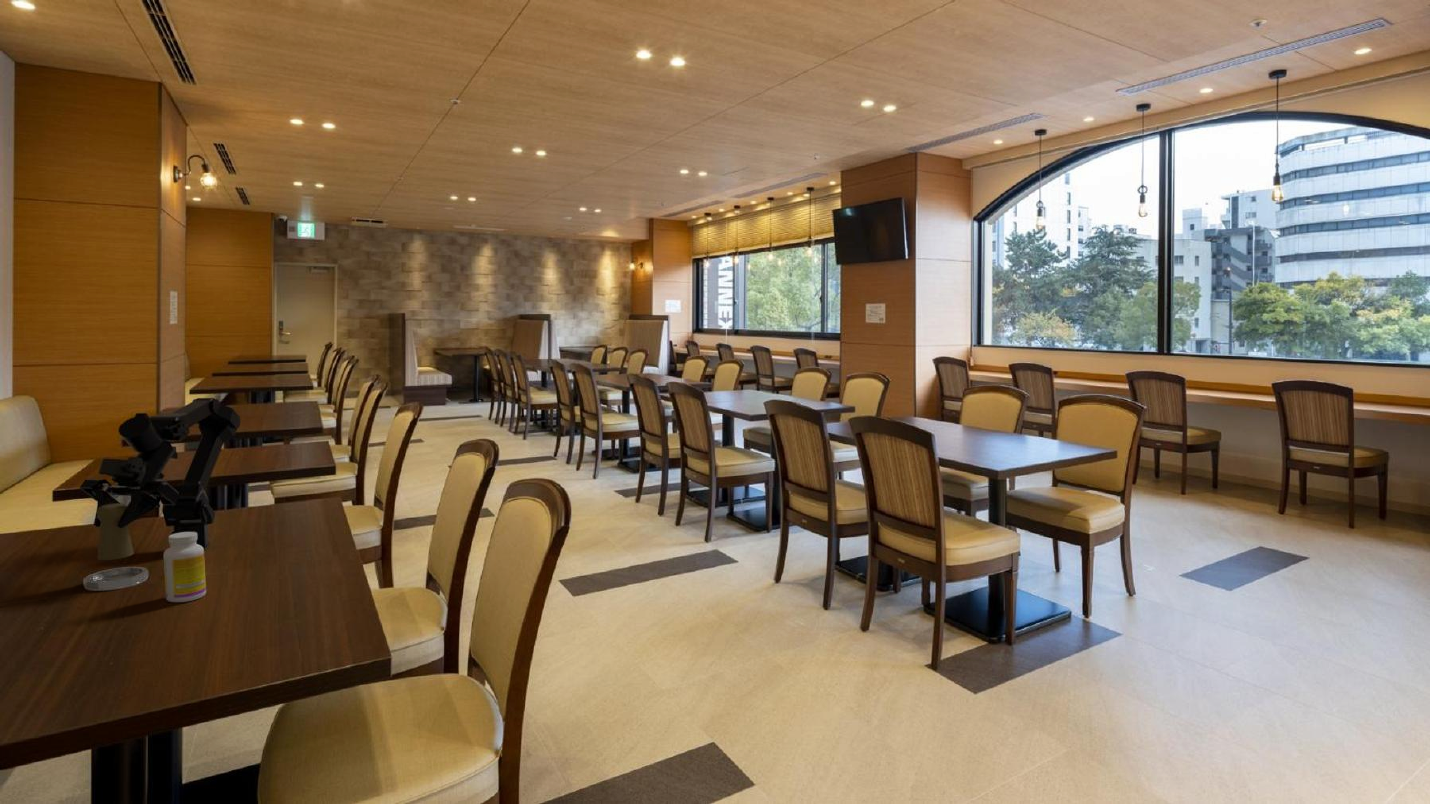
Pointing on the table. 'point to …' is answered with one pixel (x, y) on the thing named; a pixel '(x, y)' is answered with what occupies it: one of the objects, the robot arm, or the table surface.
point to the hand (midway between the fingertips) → (107, 526)
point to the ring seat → (115, 578)
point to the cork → (113, 533)
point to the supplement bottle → (184, 568)
